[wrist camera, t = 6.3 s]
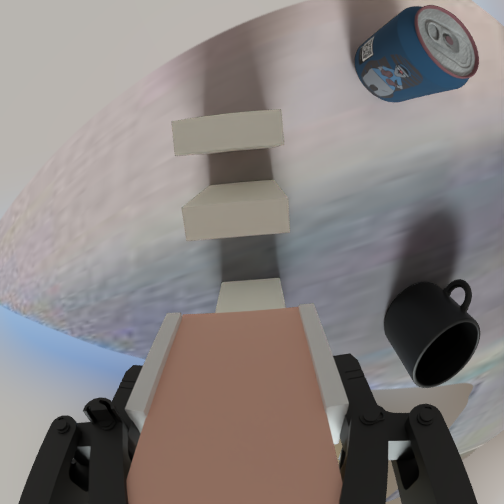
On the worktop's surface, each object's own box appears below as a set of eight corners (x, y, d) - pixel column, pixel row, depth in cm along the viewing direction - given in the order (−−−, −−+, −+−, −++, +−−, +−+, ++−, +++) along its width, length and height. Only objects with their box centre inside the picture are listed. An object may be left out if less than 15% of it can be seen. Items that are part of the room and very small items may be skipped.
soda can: (411, 58, 21) (481, 28, 9) (406, 113, 23) (484, 103, 12) (353, 34, 20) (407, -18, 9) (346, 91, 23) (407, 58, 11)
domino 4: (183, 314, 14) (115, 517, 4) (298, 306, 14) (351, 524, 4) (190, 344, 15) (143, 533, 5) (298, 337, 15) (338, 536, 5)
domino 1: (204, 133, 24) (171, 121, 14) (269, 127, 24) (281, 109, 14) (206, 154, 25) (174, 156, 15) (270, 148, 25) (284, 144, 14)
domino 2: (209, 185, 26) (181, 207, 16) (273, 179, 26) (288, 198, 15) (211, 206, 27) (186, 241, 16) (275, 200, 26) (289, 232, 16)
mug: (463, 278, 30) (503, 311, 21) (415, 349, 33) (443, 392, 25) (422, 250, 28) (468, 284, 20) (369, 333, 32) (396, 382, 23)
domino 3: (221, 282, 29) (207, 349, 19) (279, 277, 29) (292, 344, 19) (224, 298, 30) (212, 369, 20) (280, 294, 30) (292, 364, 20)
